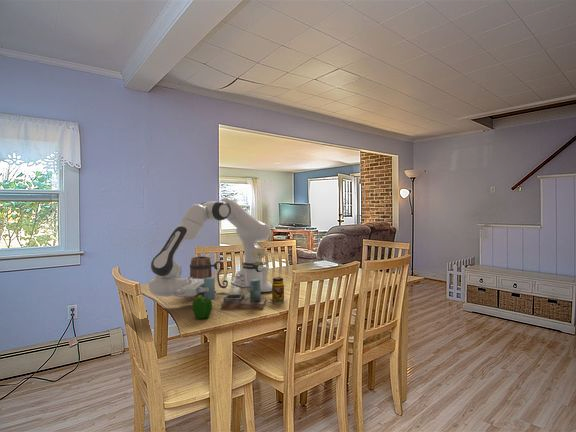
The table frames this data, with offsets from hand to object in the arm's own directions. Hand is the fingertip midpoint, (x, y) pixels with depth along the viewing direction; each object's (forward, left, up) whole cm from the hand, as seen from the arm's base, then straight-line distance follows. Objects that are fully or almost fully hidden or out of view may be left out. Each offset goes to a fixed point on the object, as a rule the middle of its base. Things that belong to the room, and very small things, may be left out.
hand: (211, 287), depth 161 cm
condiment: (+18, +27, -10) cm, 34 cm away
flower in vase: (-2, +38, -9) cm, 39 cm away
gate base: (+11, +11, -9) cm, 18 cm away
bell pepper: (+10, -13, -10) cm, 19 cm away
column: (-1, 0, -6) cm, 6 cm away
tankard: (-25, +16, -10) cm, 31 cm away
